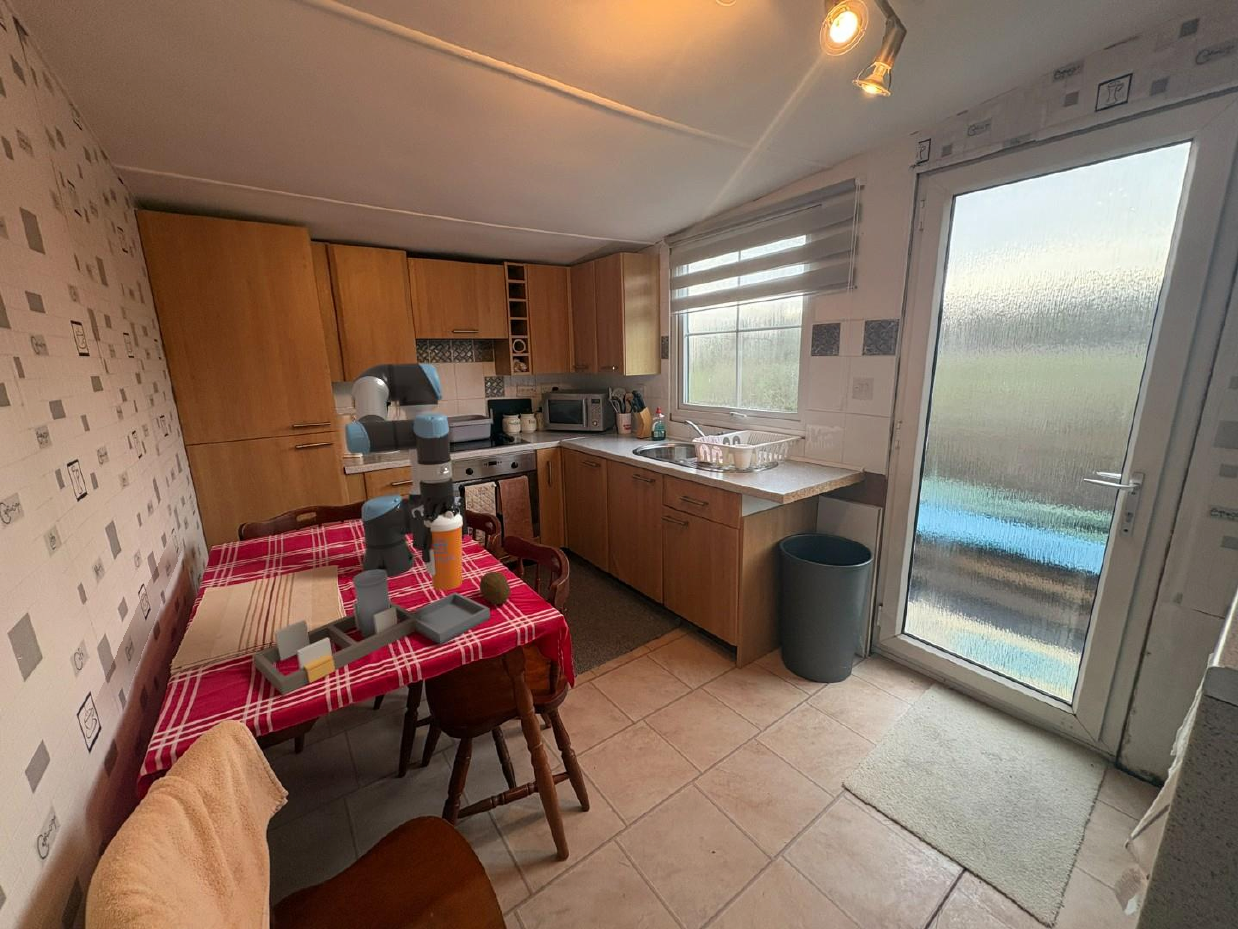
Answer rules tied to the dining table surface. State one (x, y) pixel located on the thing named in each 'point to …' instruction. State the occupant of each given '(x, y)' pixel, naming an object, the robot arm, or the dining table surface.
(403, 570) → the robot arm
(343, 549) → the dining table surface
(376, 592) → the canister
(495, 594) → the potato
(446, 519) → the shaker bottle
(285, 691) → the rack
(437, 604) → the tray
